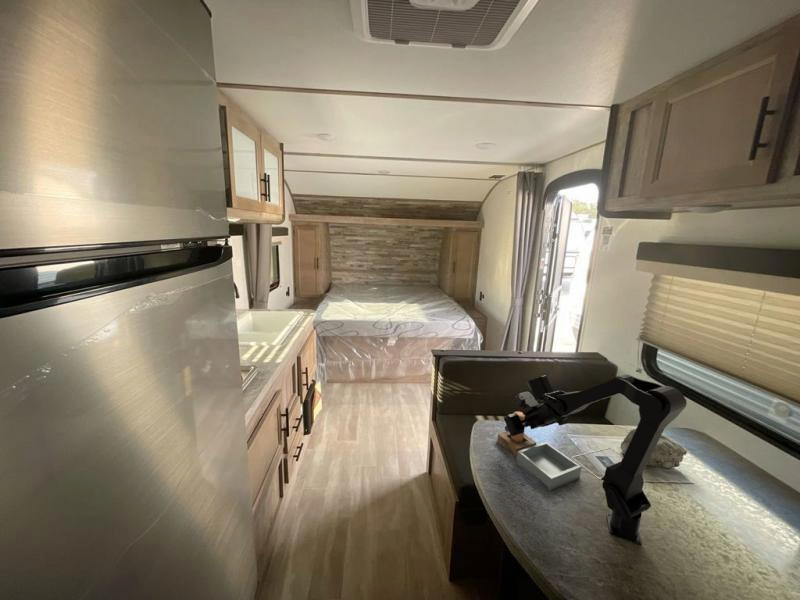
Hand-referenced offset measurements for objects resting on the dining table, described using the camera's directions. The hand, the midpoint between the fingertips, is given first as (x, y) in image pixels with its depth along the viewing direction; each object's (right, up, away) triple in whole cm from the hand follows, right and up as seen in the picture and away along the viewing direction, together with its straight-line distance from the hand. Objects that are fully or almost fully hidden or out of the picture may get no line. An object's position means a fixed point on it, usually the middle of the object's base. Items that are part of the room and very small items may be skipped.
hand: (515, 426), depth 112 cm
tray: (+6, -9, -12) cm, 16 cm away
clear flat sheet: (+27, -10, -7) cm, 30 cm away
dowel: (0, -7, 0) cm, 7 cm away
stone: (+43, -10, -5) cm, 45 cm away
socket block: (0, -7, 0) cm, 7 cm away
